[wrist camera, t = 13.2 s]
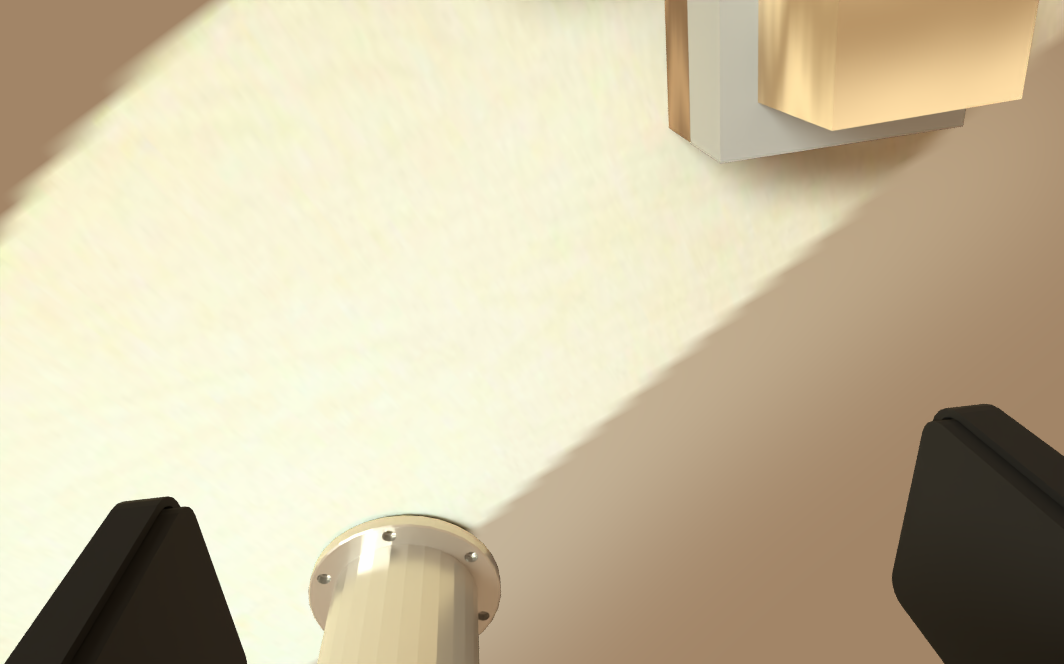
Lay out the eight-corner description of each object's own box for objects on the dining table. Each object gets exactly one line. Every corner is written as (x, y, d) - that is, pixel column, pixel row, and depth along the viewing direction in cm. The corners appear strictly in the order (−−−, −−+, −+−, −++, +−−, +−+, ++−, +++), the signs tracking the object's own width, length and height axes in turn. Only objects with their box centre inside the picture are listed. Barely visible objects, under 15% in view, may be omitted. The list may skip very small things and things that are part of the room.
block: (909, 76, 27) (1021, 98, 21) (757, 102, 26) (831, 131, 21) (927, -104, 24) (1061, -131, 18) (758, -77, 24) (844, -95, 18)
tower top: (905, 110, 31) (962, 126, 28) (690, 143, 31) (720, 163, 27) (936, -154, 27) (1009, -176, 23) (684, -118, 26) (719, -134, 23)
